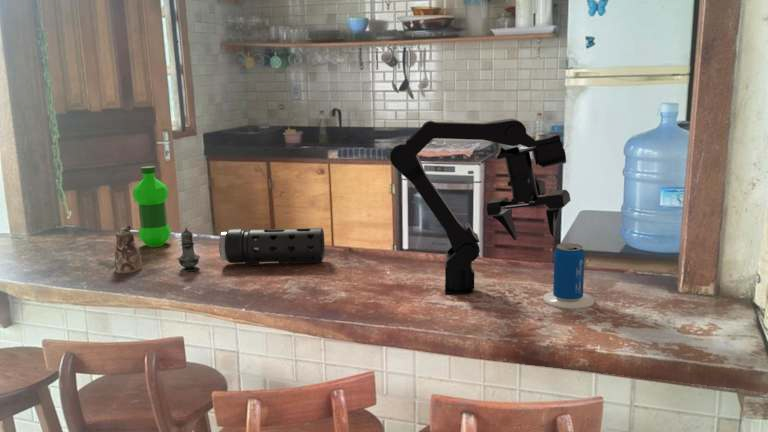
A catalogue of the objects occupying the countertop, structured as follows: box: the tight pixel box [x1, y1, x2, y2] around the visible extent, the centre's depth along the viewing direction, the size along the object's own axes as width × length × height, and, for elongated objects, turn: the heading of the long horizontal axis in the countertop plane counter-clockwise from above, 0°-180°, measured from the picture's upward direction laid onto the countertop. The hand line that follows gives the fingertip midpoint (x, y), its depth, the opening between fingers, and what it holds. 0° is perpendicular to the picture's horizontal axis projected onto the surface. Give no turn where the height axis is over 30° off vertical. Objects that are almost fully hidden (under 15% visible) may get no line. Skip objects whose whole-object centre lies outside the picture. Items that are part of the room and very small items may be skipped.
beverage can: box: [552, 242, 586, 302], centre depth 147 cm, size 6×6×12 cm
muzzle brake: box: [218, 227, 326, 266], centre depth 184 cm, size 10×28×10 cm, turn 89°
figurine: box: [114, 225, 143, 274], centre depth 183 cm, size 7×7×12 cm
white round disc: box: [543, 291, 595, 310], centre depth 148 cm, size 11×11×1 cm
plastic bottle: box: [132, 165, 172, 248], centre depth 208 cm, size 10×10×25 cm
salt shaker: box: [177, 227, 201, 274], centre depth 180 cm, size 6×6×12 cm
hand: (534, 237), depth 154 cm, fingers open, 9 cm apart
